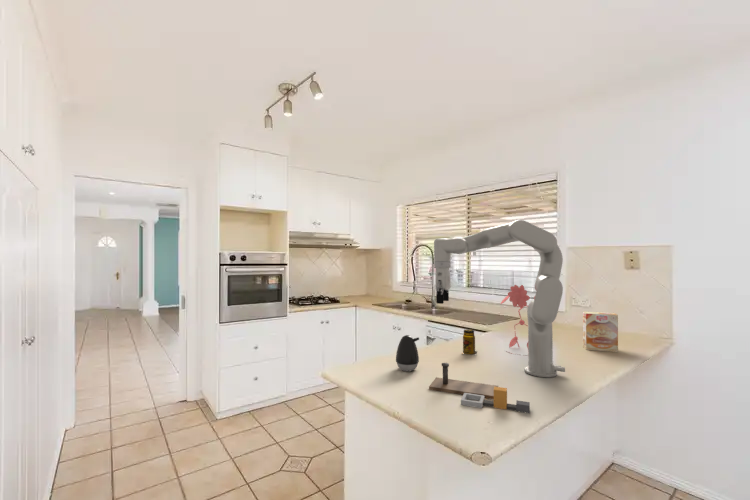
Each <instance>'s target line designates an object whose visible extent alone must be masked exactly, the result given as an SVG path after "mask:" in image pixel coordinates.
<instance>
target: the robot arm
mask: <svg viewBox="0 0 750 500" xmlns="http://www.w3.org/2000/svg"><path fill="white" fill-rule="evenodd" d="M518 241H519V242H521V243H523V244H525V245H526V246H529V247H531V248H533V249H534V251H536V252H537V253H538V255H539V257H540V262H539V267H538V271H537V276H536V280H535V281H534V289H535V295H534V297H535V299H534V298H533V299H532V300H531V301H530V302H529V303H528V304H527V306H528V307H527V309H526V313H527V325H528V326H527V334H528V335H527V336H528V337H527V343H528V348H527V349H528V350H527V351H528V356H527V358H528V366H525V367H524V372H525V373H526V374H529V375H531V376H534V377H537V378H538V377H539V378H554V377H556V376H557V375H558V372H561V373H565V372H566V368H565V366H562V365H556V364H555V363H554V361H553V359H554V358H553V357H554V355H553V353H554V351H553V349H554V347H553V346H554V345H553V334H554V331H553V322H555V320H556V319H557V315H558V313H559V308H560V304H561V300H562V297H563V288H564V287H563V284H562V281H561V280H560V277H561V273H562V267H563V253H562V251H561V248H560V246H559V245H558V240H557V238H556V236H555V235H554V233H551V232H550V231H547V230H546V229H543V228H541V227H539V226H536V225H535V224H532V223H531V222H529V221H526V220H523V219H517V220H514V221H512V222H509V223H505V224H501V225H497V226H494V227H488V228H485V229H483V230H482V231H479V232H478V233H477V232H476V233H475V234H472V235H467V236H463V237H453V238H444V237H443V238H435V239H434V242H433V267H434V269H435V289H436V292H435V293H436V296H435V297H436V298H435V301H436V304H444V302H449V301H450V299H449V296H450V295H449V294H450V293H449V292H450V291H449V290H450V289H451V287H452V285H451V272H450V269H451V268H452V267H451V265H452V264H451V260H452V259H451V258H452V257H451V255H452V254H455V255H463V254H467V253H470V252H474V251H479V250H483V249H489V248H494V247H498V246H502V245H506V244H511V243H514V242H518Z"/></svg>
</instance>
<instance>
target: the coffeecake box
mask: <svg viewBox="0 0 750 500" xmlns="http://www.w3.org/2000/svg"><path fill="white" fill-rule="evenodd" d="M582 347H583V348H584V349H585V350H586V351H595V352H596V351H599V352H612V353H613V352H614V353H618V352H619V315H618V314H617V313H614V312H603V311H602V312H601V311H599V312H597V311H582Z"/></svg>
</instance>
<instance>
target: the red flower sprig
mask: <svg viewBox="0 0 750 500" xmlns="http://www.w3.org/2000/svg"><path fill="white" fill-rule="evenodd" d="M509 289H510V291H508V292H507V295H506V296H505V297H504V298H503V299H502V300H501V302H500V305H502V304H504V303H505V302H506V301H507V300H508V299H509V302H511V303H512V306H513V307H514V308H519V309H518V316H519V318H520V320H519V322H518V323H515V325H514V327H513V328H514V329H516V326H518V325H521V326H526V327H528V324H526V323H525V321H524V320H523V319H522V316H521V313H520V311H521V310H522V309H523V308H525V307H527V308H528V301H529V300H530V299H531V297H530V296H529V295H528V290H526V289H525V287H524V285H523V284H521V285H520V286H519V285H517V284H514V286H513V285H511V286H510V287H509ZM534 299H535V296H533V300H534ZM516 334H517V333H516V332H514V337H513V338H511V340H510V341H509V344H508V347H509V348H512V347H514V346H515V345H516V344H517V347H518V348H520V345H519V342H518V340H519V339H518V338H519V337H518V336H516ZM526 347H527V349H528V342H526ZM507 353H509V354H513V355H514V353H513V352H510V351H509V352H508V351H507ZM516 355H519V356H520V354H518V353H516ZM524 356H527V357H528V355H526V354H524Z"/></svg>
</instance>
